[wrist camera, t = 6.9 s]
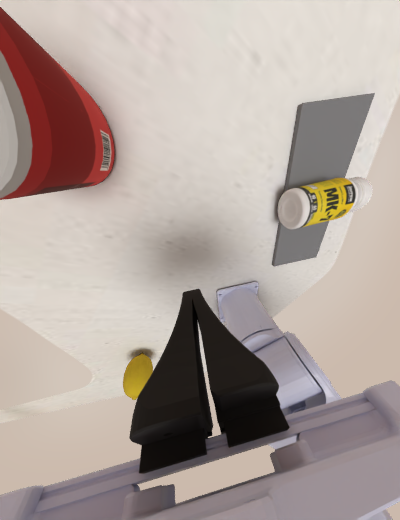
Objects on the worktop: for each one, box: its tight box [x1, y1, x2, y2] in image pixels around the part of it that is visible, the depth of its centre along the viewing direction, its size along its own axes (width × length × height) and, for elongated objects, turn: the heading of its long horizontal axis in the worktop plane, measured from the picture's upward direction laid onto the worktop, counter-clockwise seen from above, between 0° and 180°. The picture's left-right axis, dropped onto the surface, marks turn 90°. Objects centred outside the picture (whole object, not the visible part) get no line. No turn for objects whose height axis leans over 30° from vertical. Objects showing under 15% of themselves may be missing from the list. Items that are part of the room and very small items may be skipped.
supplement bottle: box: [278, 177, 372, 229], centre depth 17 cm, size 5×5×8 cm
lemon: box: [123, 353, 153, 400], centre depth 29 cm, size 6×6×8 cm
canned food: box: [0, 7, 115, 200], centre depth 8 cm, size 8×8×11 cm
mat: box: [272, 93, 375, 266], centre depth 20 cm, size 20×8×1 cm, turn 8°
